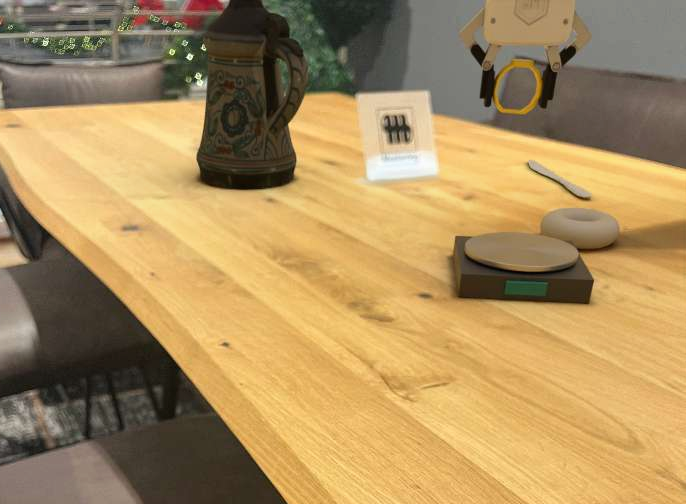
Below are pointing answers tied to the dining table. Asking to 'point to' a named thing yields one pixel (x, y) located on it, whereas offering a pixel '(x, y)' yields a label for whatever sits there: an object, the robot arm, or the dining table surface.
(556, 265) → the scale pan
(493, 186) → the dining table surface
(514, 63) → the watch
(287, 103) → the beer stein
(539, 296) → the scale
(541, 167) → the butter knife
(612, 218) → the donut
